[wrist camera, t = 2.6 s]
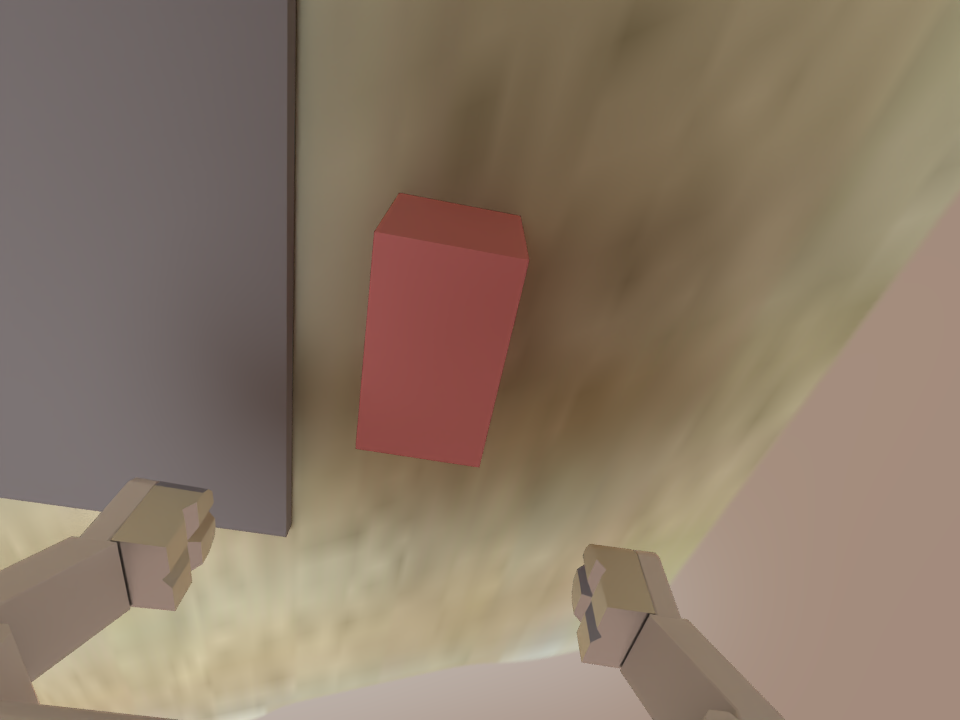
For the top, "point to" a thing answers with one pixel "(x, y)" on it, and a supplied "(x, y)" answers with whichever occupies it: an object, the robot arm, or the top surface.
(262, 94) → the mat
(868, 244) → the top surface
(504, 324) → the red rectangular block
